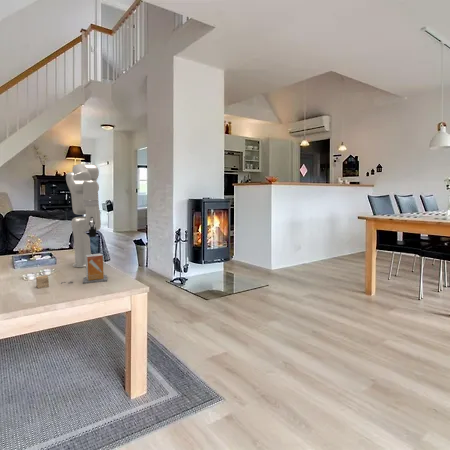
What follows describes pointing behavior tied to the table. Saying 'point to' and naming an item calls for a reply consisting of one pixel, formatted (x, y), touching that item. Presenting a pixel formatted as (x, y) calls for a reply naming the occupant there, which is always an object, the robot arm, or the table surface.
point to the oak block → (42, 281)
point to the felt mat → (94, 280)
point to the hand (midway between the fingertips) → (92, 235)
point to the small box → (94, 266)
